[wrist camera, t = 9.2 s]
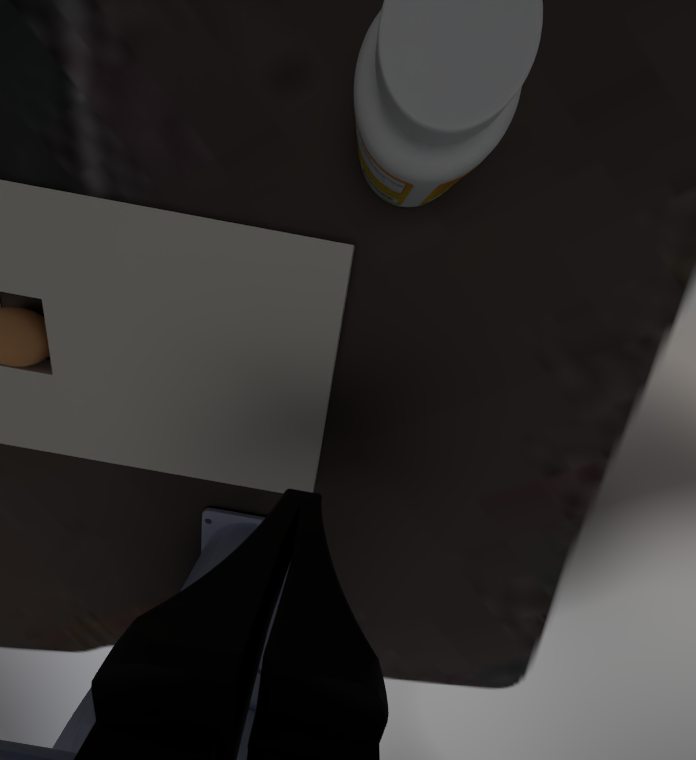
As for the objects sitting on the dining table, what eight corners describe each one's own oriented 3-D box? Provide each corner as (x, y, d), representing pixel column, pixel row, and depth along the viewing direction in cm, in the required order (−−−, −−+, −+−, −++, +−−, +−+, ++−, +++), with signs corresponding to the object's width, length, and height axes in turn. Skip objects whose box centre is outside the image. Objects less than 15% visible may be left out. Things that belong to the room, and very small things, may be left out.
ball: (71, 367, 22) (2, 381, 19) (35, 350, 23) (-37, 361, 20) (69, 314, 21) (-5, 319, 17) (30, 299, 22) (-47, 301, 18)
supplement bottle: (471, 83, 16) (605, -134, 7) (457, 208, 18) (549, 162, 9) (359, 84, 16) (350, -125, 7) (356, 208, 18) (347, 161, 9)
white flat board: (354, 246, 19) (353, 245, 17) (315, 479, 25) (311, 498, 23) (-109, 160, 19) (-161, 149, 17) (-42, 416, 24) (-76, 430, 22)
